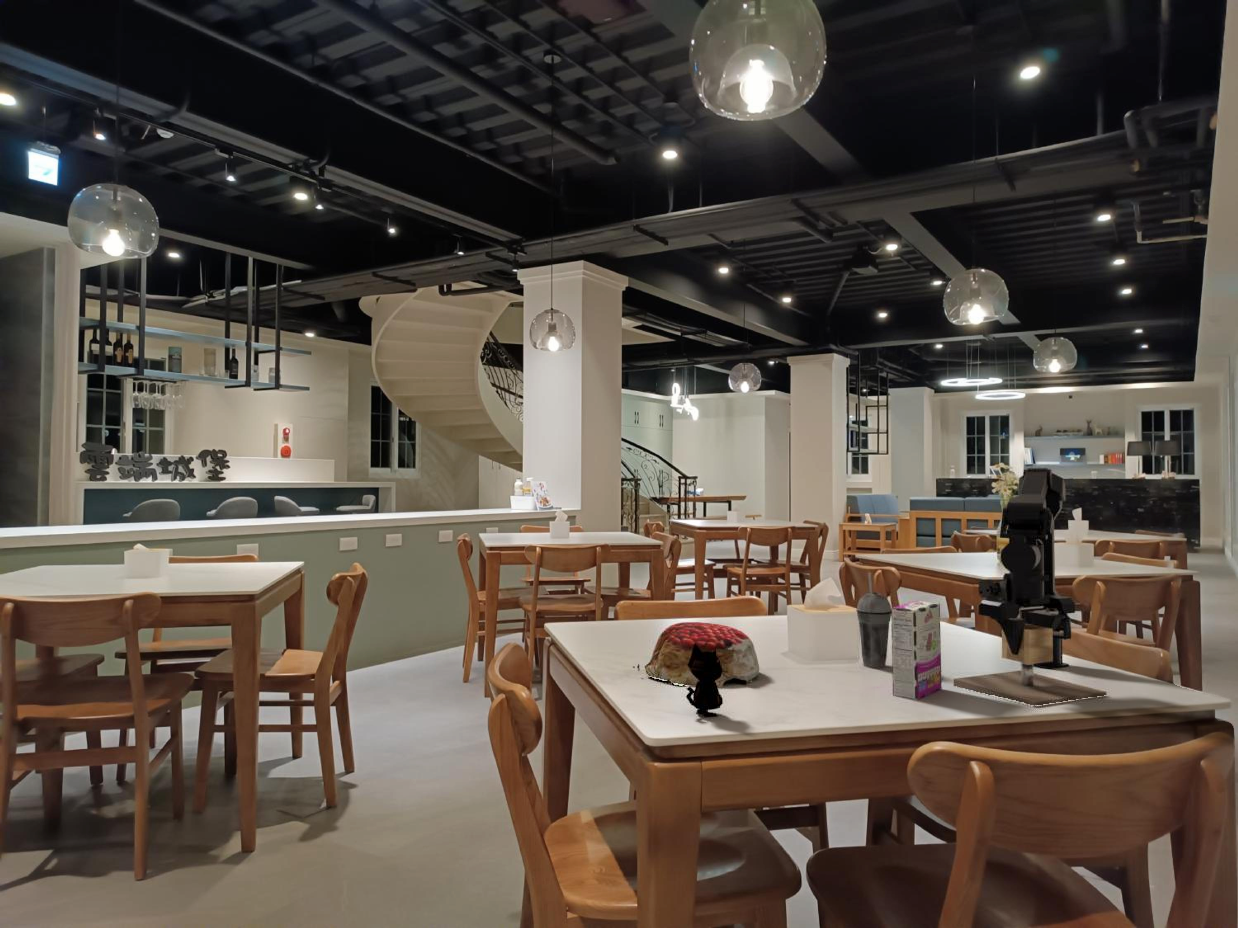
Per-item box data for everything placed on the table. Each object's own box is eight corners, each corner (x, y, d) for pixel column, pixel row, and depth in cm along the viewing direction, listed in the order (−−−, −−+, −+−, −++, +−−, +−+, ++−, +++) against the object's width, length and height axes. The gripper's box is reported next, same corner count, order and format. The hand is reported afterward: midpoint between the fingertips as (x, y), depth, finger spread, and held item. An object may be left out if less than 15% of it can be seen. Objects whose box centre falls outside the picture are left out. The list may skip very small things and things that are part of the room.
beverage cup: (899, 667, 171) (899, 572, 172) (871, 670, 168) (871, 574, 169) (876, 660, 178) (876, 569, 178) (849, 663, 175) (849, 570, 176)
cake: (620, 669, 170) (620, 622, 170) (715, 657, 182) (715, 612, 182) (681, 695, 150) (681, 641, 150) (783, 679, 162) (783, 629, 162)
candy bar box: (916, 685, 157) (916, 600, 157) (942, 690, 153) (941, 602, 153) (890, 696, 148) (889, 606, 149) (917, 701, 145) (916, 609, 145)
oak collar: (1025, 654, 155) (1024, 623, 155) (1052, 661, 149) (1052, 628, 150) (1002, 657, 153) (1001, 625, 153) (1029, 664, 147) (1028, 630, 147)
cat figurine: (734, 720, 133) (734, 647, 133) (700, 727, 130) (700, 651, 130) (709, 710, 139) (709, 640, 139) (675, 715, 136) (676, 644, 136)
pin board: (1021, 677, 163) (1021, 645, 163) (1106, 700, 146) (1106, 663, 146) (953, 686, 156) (953, 652, 156) (1034, 711, 139) (1034, 672, 139)
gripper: (1026, 562, 162) (1026, 641, 162) (955, 566, 155) (955, 648, 155) (1076, 568, 152) (1077, 652, 152) (1003, 572, 145) (1004, 660, 145)
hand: (1027, 652), depth 151 cm, fingers closed on oak collar, 6 cm apart
